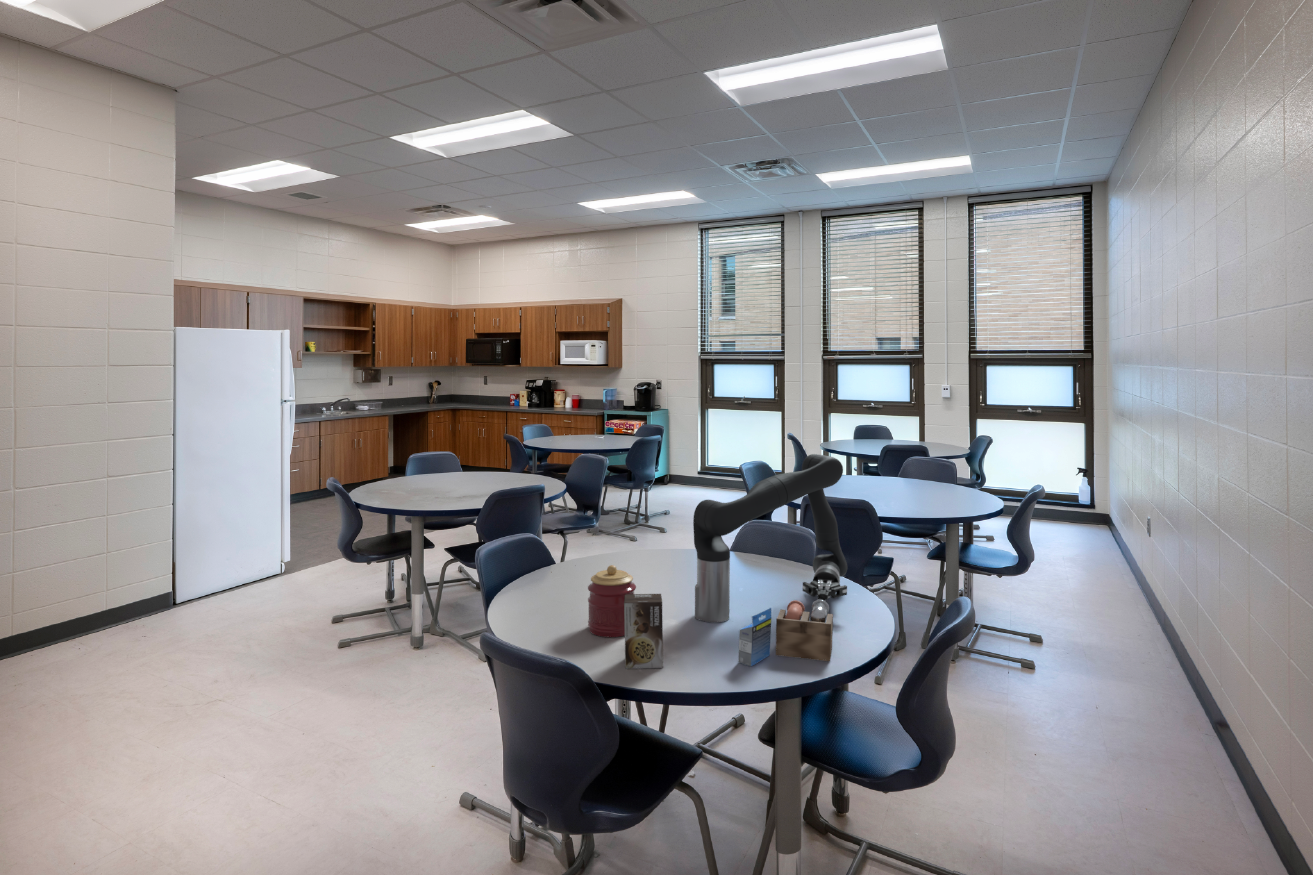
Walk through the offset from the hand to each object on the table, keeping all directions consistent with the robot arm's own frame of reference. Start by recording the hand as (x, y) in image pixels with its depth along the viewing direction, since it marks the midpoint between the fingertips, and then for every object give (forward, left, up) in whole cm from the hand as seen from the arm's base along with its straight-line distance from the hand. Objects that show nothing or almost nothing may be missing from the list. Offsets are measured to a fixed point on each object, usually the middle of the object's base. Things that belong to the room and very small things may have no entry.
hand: (822, 597), depth 195 cm
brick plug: (-6, -16, -2) cm, 17 cm away
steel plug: (0, -13, -2) cm, 13 cm away
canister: (-54, -18, -8) cm, 58 cm away
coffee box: (-39, -37, -8) cm, 55 cm away
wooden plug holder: (-3, -19, -8) cm, 21 cm away
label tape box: (-14, -27, -8) cm, 32 cm away
